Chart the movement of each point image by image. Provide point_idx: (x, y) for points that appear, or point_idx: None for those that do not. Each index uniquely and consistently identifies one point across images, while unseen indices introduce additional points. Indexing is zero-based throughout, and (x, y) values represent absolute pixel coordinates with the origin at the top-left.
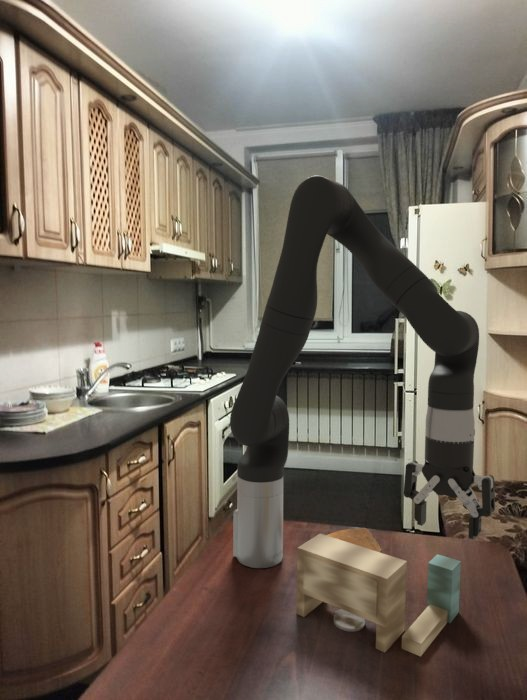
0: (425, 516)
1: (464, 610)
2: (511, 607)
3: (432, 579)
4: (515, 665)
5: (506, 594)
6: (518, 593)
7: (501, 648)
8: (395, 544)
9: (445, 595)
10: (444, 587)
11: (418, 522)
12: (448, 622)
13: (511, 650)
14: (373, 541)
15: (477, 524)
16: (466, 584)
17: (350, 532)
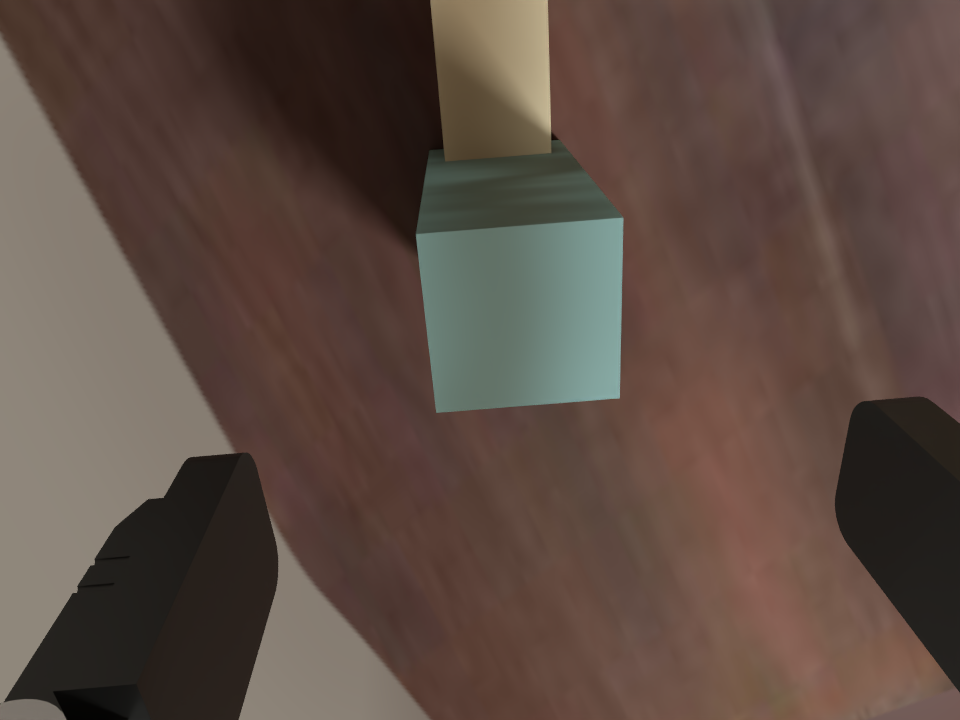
0: (878, 560)
1: None
2: (287, 469)
3: (563, 190)
4: (24, 26)
5: (349, 544)
6: (317, 579)
7: (146, 122)
8: None
9: (462, 179)
10: (472, 190)
11: (917, 409)
12: (439, 150)
13: (107, 141)
14: None
15: (73, 629)
16: (514, 510)
17: None
